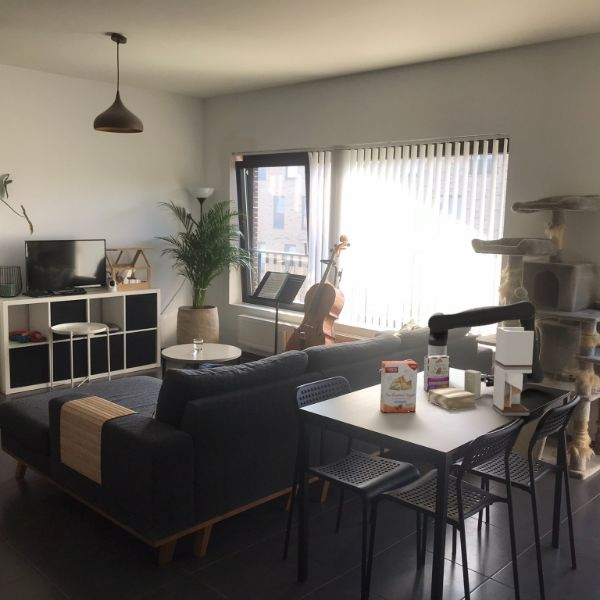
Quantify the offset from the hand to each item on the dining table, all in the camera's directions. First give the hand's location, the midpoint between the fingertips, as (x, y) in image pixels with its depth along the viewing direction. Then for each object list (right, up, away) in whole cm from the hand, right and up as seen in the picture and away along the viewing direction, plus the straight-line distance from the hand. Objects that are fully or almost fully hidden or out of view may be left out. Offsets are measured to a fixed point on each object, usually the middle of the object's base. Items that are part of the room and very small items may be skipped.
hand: (479, 382), depth 290 cm
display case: (+7, -10, -22) cm, 25 cm away
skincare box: (-4, -7, -1) cm, 8 cm away
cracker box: (-41, -9, -23) cm, 48 cm away
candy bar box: (-18, -5, +11) cm, 21 cm away
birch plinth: (-16, -8, -11) cm, 21 cm away
